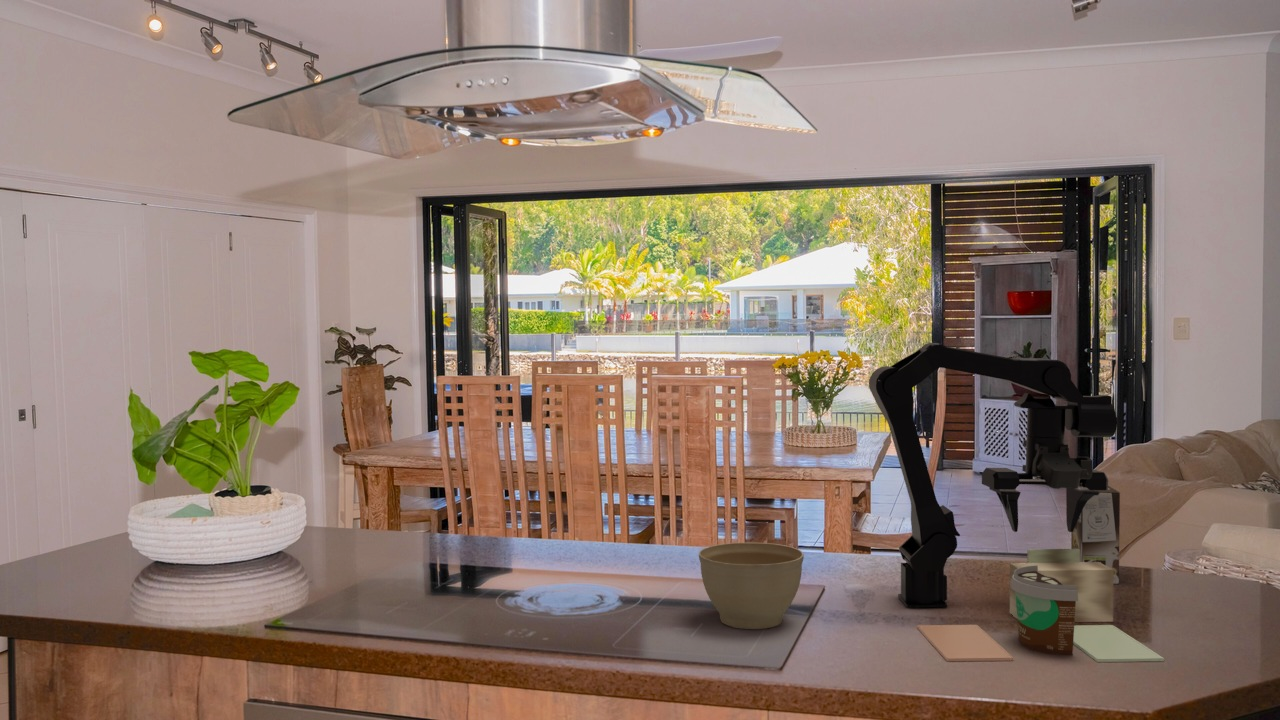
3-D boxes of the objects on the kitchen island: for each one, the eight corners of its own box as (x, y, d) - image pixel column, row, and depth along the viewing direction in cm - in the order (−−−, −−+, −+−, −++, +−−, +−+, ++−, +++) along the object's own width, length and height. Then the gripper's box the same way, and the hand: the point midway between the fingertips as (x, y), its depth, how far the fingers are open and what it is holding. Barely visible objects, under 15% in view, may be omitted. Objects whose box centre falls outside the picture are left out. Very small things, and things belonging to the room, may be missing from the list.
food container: (995, 632, 150) (995, 565, 150) (1035, 631, 151) (1035, 564, 151) (1034, 660, 138) (1034, 587, 138) (1078, 658, 139) (1078, 586, 138)
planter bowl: (824, 620, 158) (824, 551, 157) (760, 645, 146) (759, 570, 146) (743, 601, 169) (743, 536, 169) (678, 622, 158) (677, 553, 157)
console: (1021, 622, 155) (1021, 557, 155) (1008, 612, 161) (1008, 549, 160) (1113, 621, 155) (1113, 556, 155) (1096, 611, 161) (1097, 548, 160)
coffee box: (1120, 584, 176) (1121, 492, 176) (1081, 583, 178) (1081, 491, 177) (1107, 571, 185) (1108, 483, 185) (1070, 570, 187) (1070, 483, 186)
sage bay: (1097, 662, 137) (1097, 659, 137) (1052, 628, 152) (1052, 625, 152) (1164, 661, 137) (1164, 658, 137) (1112, 627, 152) (1112, 625, 152)
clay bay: (947, 661, 138) (947, 658, 138) (917, 628, 153) (917, 625, 153) (1013, 660, 138) (1013, 657, 138) (976, 627, 153) (976, 624, 153)
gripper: (1009, 441, 156) (1006, 542, 157) (1127, 442, 157) (1124, 542, 158) (981, 433, 167) (979, 527, 168) (1092, 434, 168) (1089, 528, 169)
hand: (1042, 531), depth 165 cm, fingers open, 9 cm apart
